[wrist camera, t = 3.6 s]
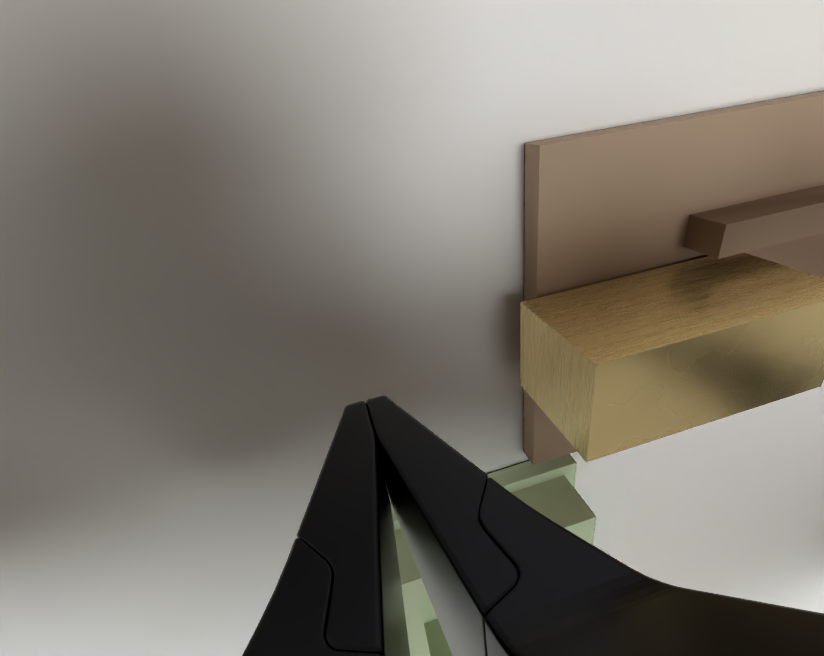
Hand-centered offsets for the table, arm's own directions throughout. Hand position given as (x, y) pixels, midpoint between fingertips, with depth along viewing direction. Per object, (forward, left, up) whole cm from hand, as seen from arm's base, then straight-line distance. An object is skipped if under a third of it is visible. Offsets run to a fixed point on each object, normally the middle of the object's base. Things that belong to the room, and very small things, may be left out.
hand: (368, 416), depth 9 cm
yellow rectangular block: (0, -7, -1) cm, 7 cm away
